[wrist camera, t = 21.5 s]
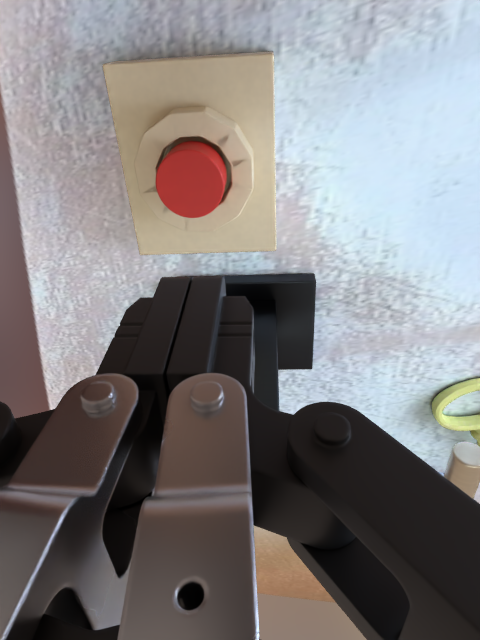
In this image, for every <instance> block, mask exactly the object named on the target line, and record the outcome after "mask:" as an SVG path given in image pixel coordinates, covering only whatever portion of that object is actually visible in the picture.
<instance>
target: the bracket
mask: <svg viewBox="0 0 480 640" xmlns="http://www.w3.org/2000/svg"><path fill="white" fill-rule="evenodd" d="M200 277H207V276H200ZM192 278H193V277H192ZM224 279H225V287H226V296H245V297H246V298H247V300H248V301H249V303H250V304H251V305H252V307H253V315H254V343H255V373H254V395H255V396H256V397H257V398H258V399H259V400H260V401H261V402H262V403H263V404H265V405H267V406H268V407H270V408H272V409H275V410H278V411H279V386H278V370H282V369H312V363H313V339H314V316H315V292H316V279H315V274H276V275H238V276H224Z"/></svg>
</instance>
